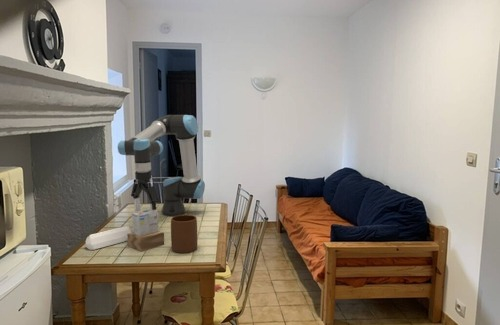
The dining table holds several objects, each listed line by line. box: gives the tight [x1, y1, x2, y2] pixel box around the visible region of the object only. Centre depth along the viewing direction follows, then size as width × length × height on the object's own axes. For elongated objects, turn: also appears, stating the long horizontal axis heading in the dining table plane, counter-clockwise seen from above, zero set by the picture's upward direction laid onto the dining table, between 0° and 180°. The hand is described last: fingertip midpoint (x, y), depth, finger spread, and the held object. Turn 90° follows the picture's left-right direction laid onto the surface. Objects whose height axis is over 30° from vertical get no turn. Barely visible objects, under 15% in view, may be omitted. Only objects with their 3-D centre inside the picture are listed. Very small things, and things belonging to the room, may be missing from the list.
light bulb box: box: [132, 208, 159, 236], centre depth 188 cm, size 11×7×11 cm, turn 136°
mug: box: [170, 212, 198, 254], centre depth 187 cm, size 20×12×15 cm, turn 3°
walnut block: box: [127, 230, 165, 252], centre depth 189 cm, size 12×13×6 cm
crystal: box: [85, 225, 133, 251], centre depth 192 cm, size 7×7×24 cm
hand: (145, 213), depth 188 cm, fingers open, 13 cm apart
